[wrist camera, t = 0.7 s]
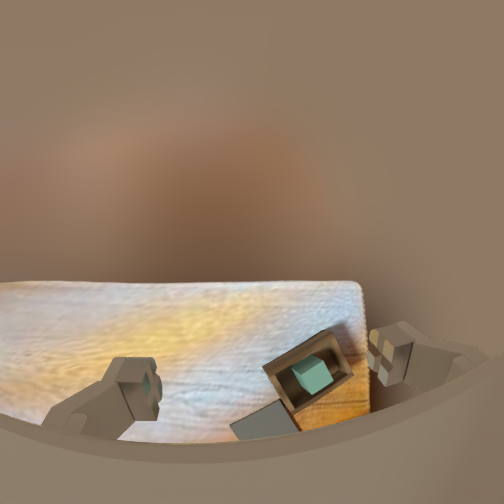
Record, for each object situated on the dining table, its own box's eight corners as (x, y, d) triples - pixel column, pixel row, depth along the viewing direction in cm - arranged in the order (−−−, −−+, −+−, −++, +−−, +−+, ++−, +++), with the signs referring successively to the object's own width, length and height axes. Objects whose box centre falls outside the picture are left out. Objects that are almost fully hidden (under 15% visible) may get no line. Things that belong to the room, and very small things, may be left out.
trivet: (301, 436, 53) (302, 437, 52) (255, 460, 50) (256, 462, 49) (278, 399, 54) (279, 400, 53) (229, 424, 51) (229, 426, 50)
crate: (342, 369, 57) (354, 375, 51) (285, 406, 54) (292, 415, 48) (322, 330, 58) (332, 332, 52) (261, 366, 54) (267, 373, 49)
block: (320, 372, 55) (333, 380, 48) (300, 385, 54) (312, 394, 47) (310, 354, 56) (323, 360, 49) (290, 366, 55) (300, 374, 48)
